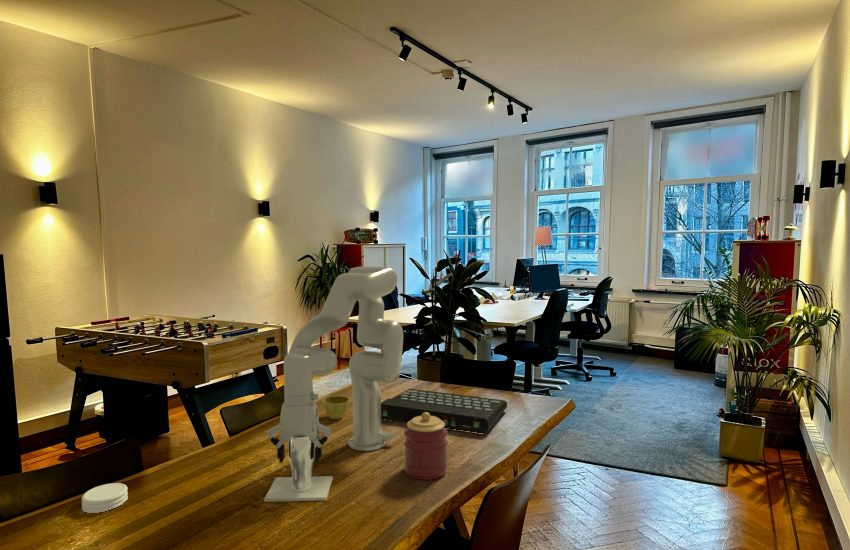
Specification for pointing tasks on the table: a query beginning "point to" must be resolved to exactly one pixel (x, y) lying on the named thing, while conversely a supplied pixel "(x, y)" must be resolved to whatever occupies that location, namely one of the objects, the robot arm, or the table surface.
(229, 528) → the table surface
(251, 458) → the table surface
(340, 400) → the flower pot
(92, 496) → the white round disc stack
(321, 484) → the grey mat
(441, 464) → the canister
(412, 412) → the computer keyboard
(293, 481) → the beer glass
